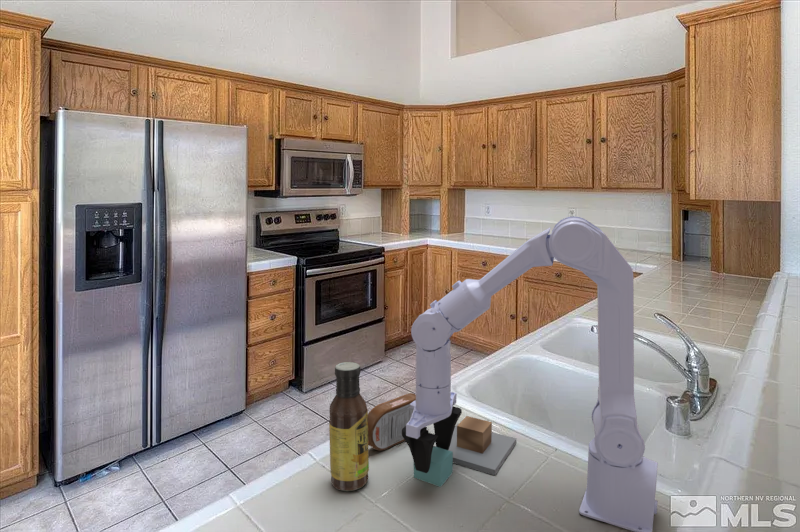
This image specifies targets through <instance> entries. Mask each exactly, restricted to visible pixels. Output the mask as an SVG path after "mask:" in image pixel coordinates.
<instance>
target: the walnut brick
mask: <svg viewBox="0 0 800 532" xmlns="http://www.w3.org/2000/svg"><path fill="white" fill-rule="evenodd" d="M457 424H458V425H457ZM457 424H456V425H457V447H461V448H464V449H468V450H471V451H475V452H478V453H482V454H483V453H484V451H485V450H486V449H487V447H488V446H489V445H490V444H491V441H492V430H493V427H492V426H493V422H492V421H489V420H484V419H480V418H476V417H473V416H468V415H466V416H465V417H464V418H463V419H462V420H461V421H460V422H459V423H457Z"/></svg>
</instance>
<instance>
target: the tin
mask: <svg viewBox="0 0 800 532" xmlns="http://www.w3.org/2000/svg"><path fill="white" fill-rule="evenodd" d="M415 400H416V393H412V392H411V393H410V392H409V393H406V394H403V395H400V396H398V397H395V398H392V399H390V400H387V401H385V402H381V403H379V404H377V405H375V406H374V407H373V408H372V409H370V411H369V412H368V447H371V448H372V449H373V450H376V451H378V452H379V451H380V452H381V451H386V450H388V449H391V448H393V447H394V446H397V445H399V444H401V443H403V442H406V441H405V439H404V438H403V437H402V429H403V428H404V427H405V426H406V424H407V423H408V422H409V421H410V418H411V416H412V413H413V410H414V409H411V408H410V403H412V402H413V401H415Z"/></svg>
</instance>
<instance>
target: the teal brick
mask: <svg viewBox="0 0 800 532" xmlns="http://www.w3.org/2000/svg"><path fill="white" fill-rule="evenodd" d="M435 446H436V445H435ZM435 446H433V450H432V455H431V463H430V469H429V471H428V472H427V473H424V472H421V471H418V470H416V468H415V465H414V464H413V478H414V479H416V478H417V480H419V479H420V480H419V481H423V482H425V483H428V484H432V485H434V486H436V487H439V488H441V487H442V486H443V485H444V484H445V482H447V480H448V479H449V478H450V476H451V475H452V474H453V471H454V470H453V464H454V463H453V452H452V451H449V450H445V449H442V448H438V447H435Z"/></svg>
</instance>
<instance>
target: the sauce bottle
mask: <svg viewBox="0 0 800 532" xmlns="http://www.w3.org/2000/svg"><path fill="white" fill-rule="evenodd" d="M360 375H361V365H360V364H359V363H358V362H357V363H356V362H352V361H344V362H340V363H338V364H336V365H335V367H334V376H335V379H336V381H335V383H336V388H335V396H334V398H333V399H332V401H331V403H330V405H329V421H328V422H329V423H328V425H329V428H328V429H329V431H328V432H329V461H330V463H329V465H330V467H329V468H330V477H331V478H330V480H331V484H332V486H333V487H334V488H335V489H336V490H338V491H343V492H350V491H351V492H352V491H357V490H359V489H361V488H363V487H364V486H365V485H366V484H367V483H368V480H369V471H370V469H369V468H370V465H369V464H370V463H369V462H370V459H369V458H370V457H369V445H368V413H369V412H368V410H369V409H368V406H367V405H368V404H367V402H366V400H365V398H363V396H362V395H361V393H360V392H361V387H360Z"/></svg>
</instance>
